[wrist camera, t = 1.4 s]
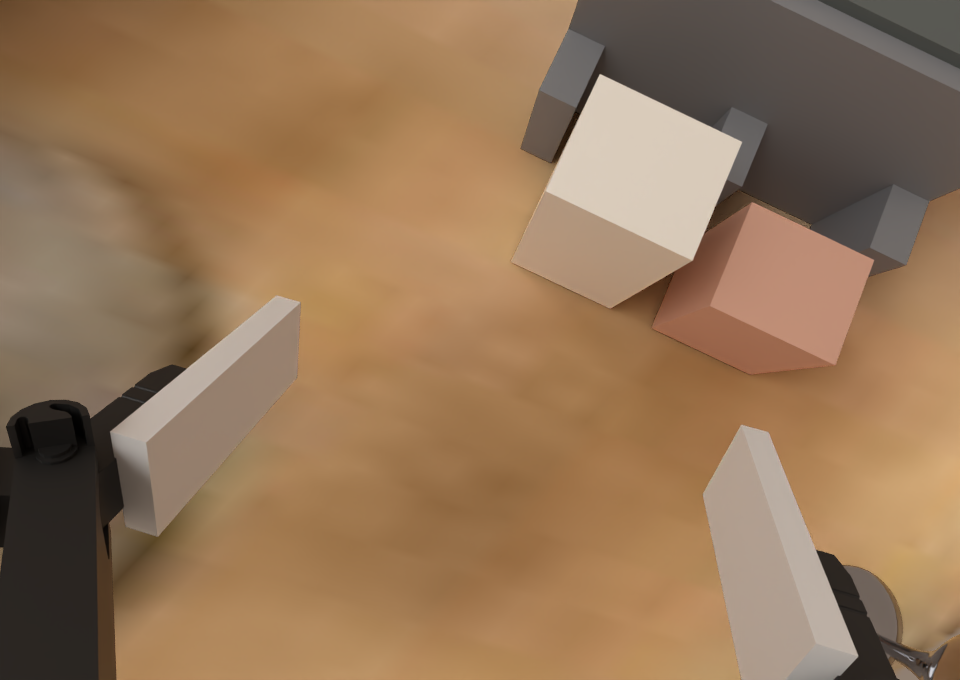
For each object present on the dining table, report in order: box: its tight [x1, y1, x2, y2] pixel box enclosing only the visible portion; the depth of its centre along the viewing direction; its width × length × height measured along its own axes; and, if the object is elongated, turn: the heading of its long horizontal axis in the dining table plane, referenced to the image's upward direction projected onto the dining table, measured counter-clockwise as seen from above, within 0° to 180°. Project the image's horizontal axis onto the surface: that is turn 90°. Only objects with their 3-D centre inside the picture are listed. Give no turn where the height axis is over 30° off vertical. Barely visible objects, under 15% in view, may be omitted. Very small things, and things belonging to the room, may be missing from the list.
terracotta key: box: [651, 202, 874, 375], centre depth 33 cm, size 7×6×8 cm
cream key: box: [511, 74, 742, 308], centre depth 31 cm, size 7×6×12 cm
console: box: [521, 0, 960, 277], centre depth 32 cm, size 22×12×15 cm, turn 65°
